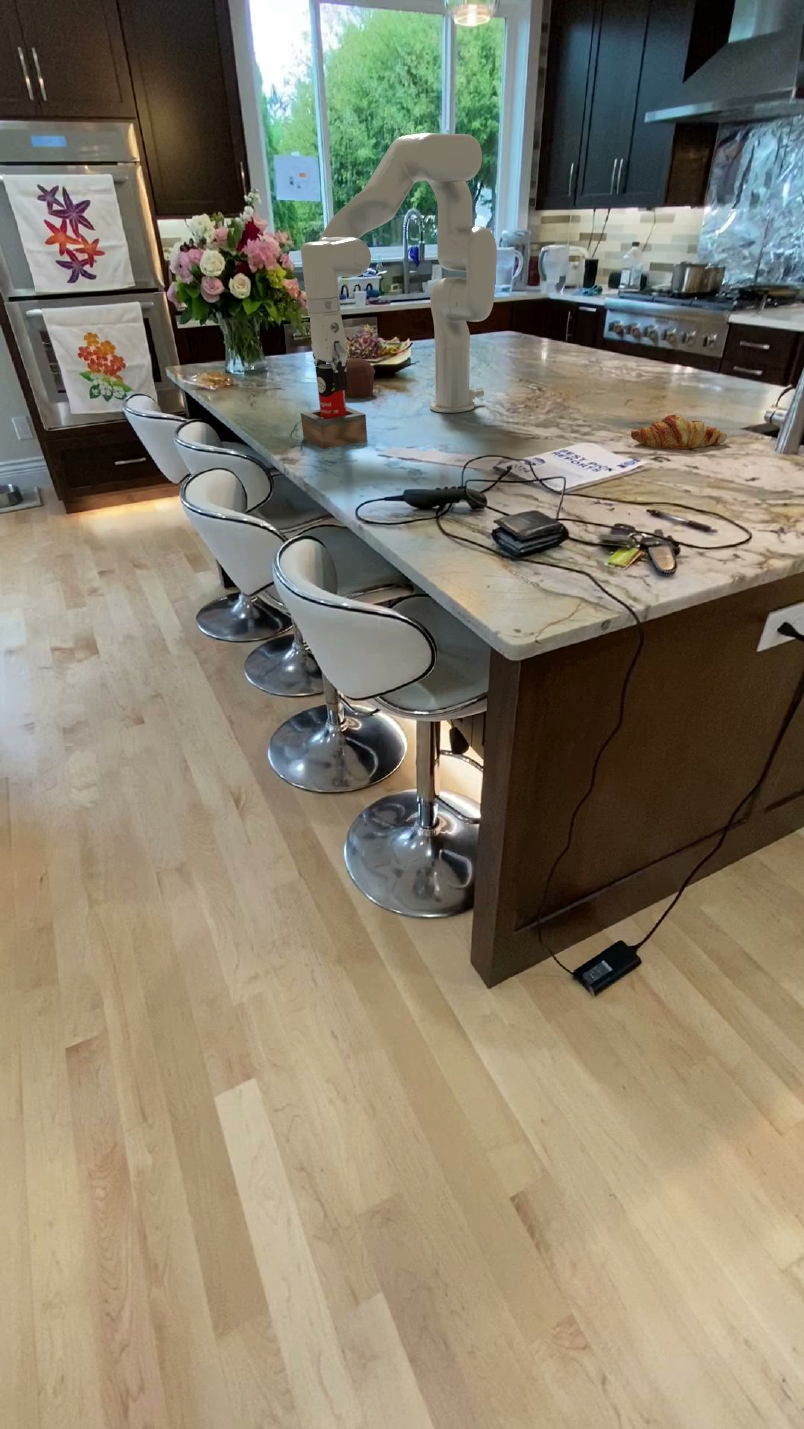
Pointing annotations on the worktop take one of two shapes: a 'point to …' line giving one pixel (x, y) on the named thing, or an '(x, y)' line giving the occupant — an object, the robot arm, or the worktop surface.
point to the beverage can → (329, 393)
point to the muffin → (359, 378)
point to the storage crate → (334, 428)
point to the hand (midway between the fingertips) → (332, 386)
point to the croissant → (678, 434)
